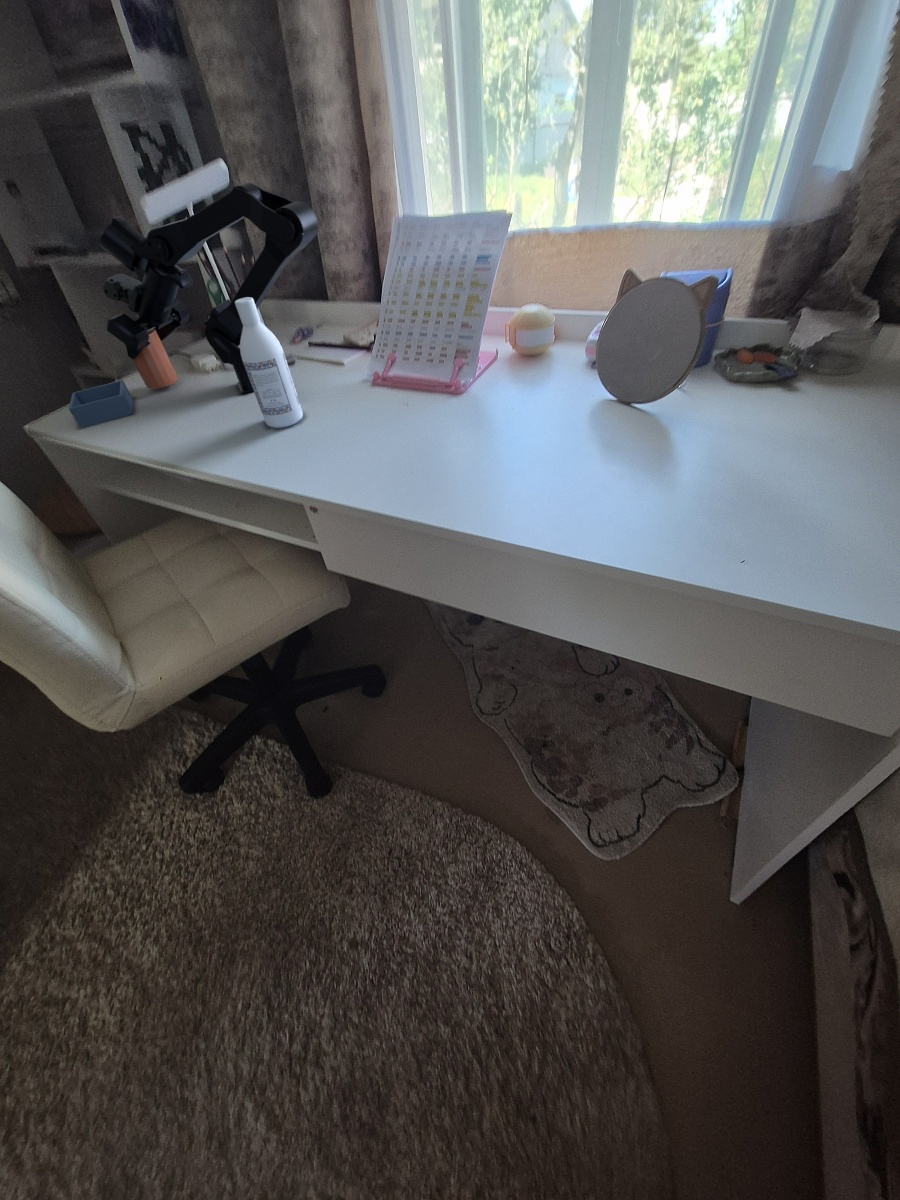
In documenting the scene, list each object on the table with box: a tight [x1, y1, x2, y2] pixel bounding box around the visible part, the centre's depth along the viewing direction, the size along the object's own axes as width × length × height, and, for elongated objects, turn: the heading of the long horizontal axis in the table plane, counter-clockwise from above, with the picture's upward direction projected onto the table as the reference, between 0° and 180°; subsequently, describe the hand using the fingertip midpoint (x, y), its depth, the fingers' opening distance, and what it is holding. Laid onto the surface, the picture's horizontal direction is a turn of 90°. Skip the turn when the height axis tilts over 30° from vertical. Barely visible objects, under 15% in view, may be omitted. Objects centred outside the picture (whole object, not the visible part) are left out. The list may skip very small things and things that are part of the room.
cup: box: [124, 329, 179, 390], centre depth 112 cm, size 7×7×10 cm
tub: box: [68, 379, 134, 429], centre depth 108 cm, size 10×10×4 cm
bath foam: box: [235, 297, 304, 429], centre depth 90 cm, size 7×7×20 cm
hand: (141, 351), depth 112 cm, fingers closed on cup, 7 cm apart
